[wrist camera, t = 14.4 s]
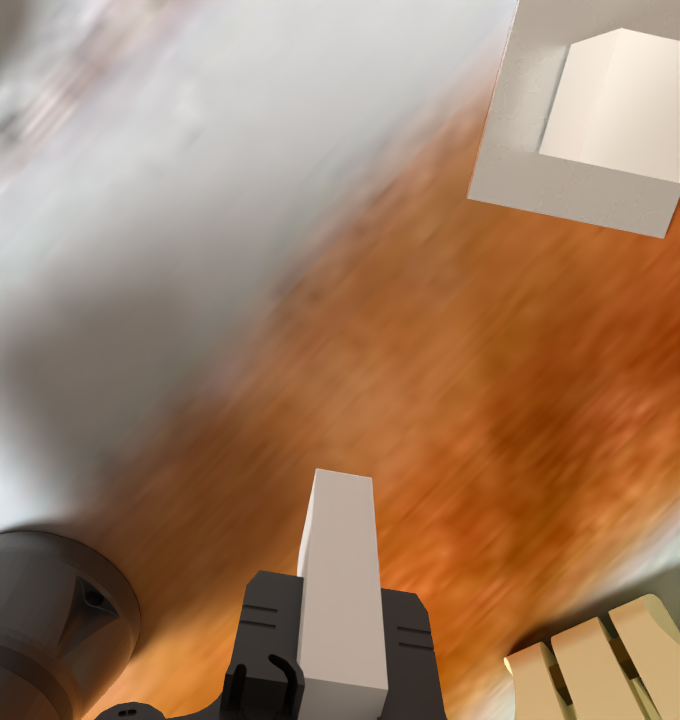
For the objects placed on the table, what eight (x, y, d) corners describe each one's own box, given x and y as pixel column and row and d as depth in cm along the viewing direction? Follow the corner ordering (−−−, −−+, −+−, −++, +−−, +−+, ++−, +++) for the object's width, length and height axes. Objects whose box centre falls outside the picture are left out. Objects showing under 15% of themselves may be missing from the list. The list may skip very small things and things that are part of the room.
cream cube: (538, 153, 35) (578, 161, 29) (571, 44, 33) (620, 27, 27) (634, 173, 35) (693, 185, 29) (672, 66, 33) (744, 55, 27)
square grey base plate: (465, 197, 37) (489, 214, 30) (526, -35, 32) (569, -72, 26) (658, 237, 37) (723, 262, 31) (743, 15, 33) (839, -10, 27)
